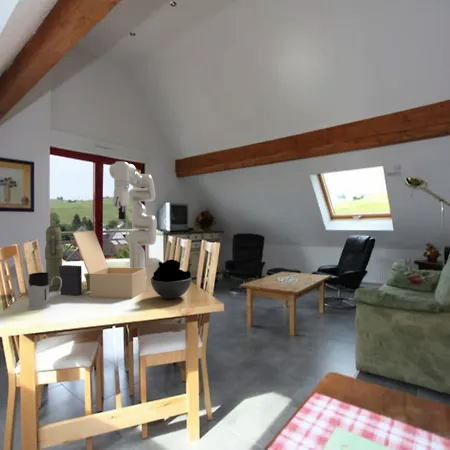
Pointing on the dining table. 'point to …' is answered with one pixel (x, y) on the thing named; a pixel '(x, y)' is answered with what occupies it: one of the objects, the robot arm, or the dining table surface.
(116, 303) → the dining table surface
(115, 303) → the dining table surface
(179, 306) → the dining table surface
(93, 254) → the flap
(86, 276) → the plant pot
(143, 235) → the robot arm
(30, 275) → the glass holder
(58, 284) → the thermos
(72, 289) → the dark grey box
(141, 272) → the carton
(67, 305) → the dining table surface
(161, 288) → the coal bowl
